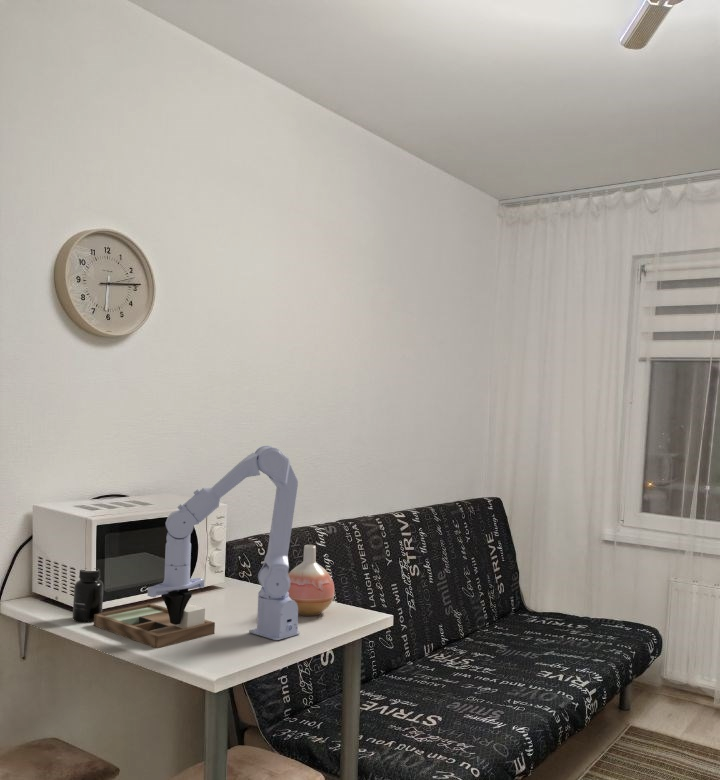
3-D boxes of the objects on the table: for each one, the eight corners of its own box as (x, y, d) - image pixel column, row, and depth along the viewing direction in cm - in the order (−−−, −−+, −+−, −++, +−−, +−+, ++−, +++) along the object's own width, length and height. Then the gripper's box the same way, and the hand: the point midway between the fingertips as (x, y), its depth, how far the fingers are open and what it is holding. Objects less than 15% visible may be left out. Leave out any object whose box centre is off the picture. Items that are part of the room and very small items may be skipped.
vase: (310, 623, 193) (312, 552, 193) (270, 613, 201) (273, 545, 202) (344, 613, 204) (346, 545, 204) (305, 604, 212) (307, 539, 213)
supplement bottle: (71, 623, 186) (73, 573, 186) (73, 616, 192) (75, 567, 193) (101, 622, 188) (103, 572, 188) (102, 615, 194) (104, 567, 194)
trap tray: (214, 633, 181) (214, 622, 181) (157, 648, 169) (157, 636, 169) (150, 613, 197) (150, 603, 197) (93, 625, 185) (94, 614, 185)
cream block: (204, 625, 180) (205, 608, 181) (187, 629, 177) (187, 612, 177) (190, 621, 184) (191, 604, 184) (173, 625, 180) (174, 608, 180)
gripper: (191, 557, 186) (189, 614, 185) (140, 565, 174) (137, 626, 174) (211, 561, 181) (208, 620, 181) (159, 570, 170) (156, 632, 169)
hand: (175, 623), depth 177 cm, fingers closed
